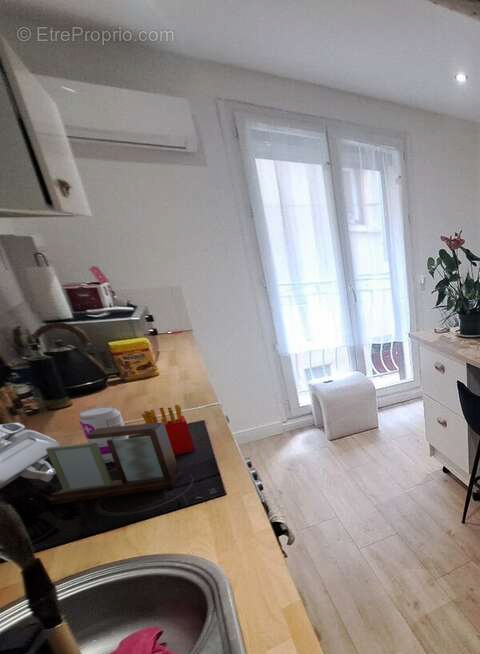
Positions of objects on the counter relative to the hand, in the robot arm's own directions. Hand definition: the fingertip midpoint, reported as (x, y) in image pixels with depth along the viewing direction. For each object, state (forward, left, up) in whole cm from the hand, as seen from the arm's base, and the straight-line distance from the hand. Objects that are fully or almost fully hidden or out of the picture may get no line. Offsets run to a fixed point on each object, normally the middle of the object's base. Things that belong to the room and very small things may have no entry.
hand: (54, 476), depth 99 cm
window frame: (+9, -6, -6) cm, 12 cm away
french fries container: (+25, +6, -7) cm, 27 cm away
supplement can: (+15, +17, -7) cm, 24 cm away
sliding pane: (+4, -3, -5) cm, 7 cm away
